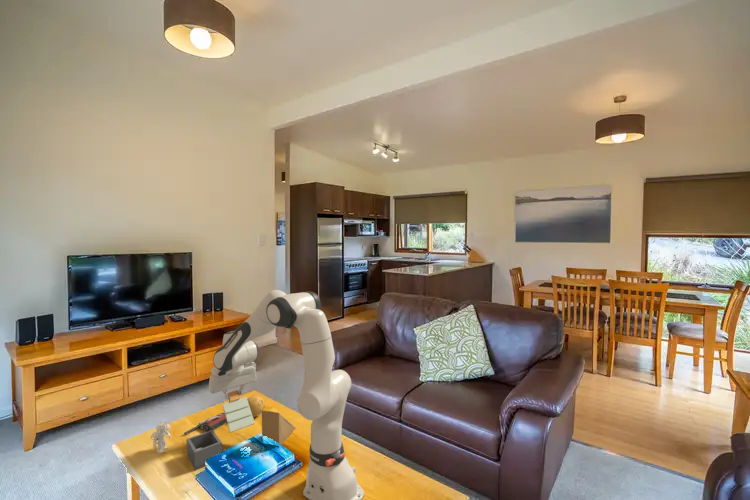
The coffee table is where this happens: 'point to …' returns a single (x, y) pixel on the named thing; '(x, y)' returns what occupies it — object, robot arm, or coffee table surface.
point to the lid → (237, 412)
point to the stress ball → (256, 405)
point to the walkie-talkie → (211, 423)
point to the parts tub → (203, 448)
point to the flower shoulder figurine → (160, 436)
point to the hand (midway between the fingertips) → (233, 396)
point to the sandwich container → (276, 426)
